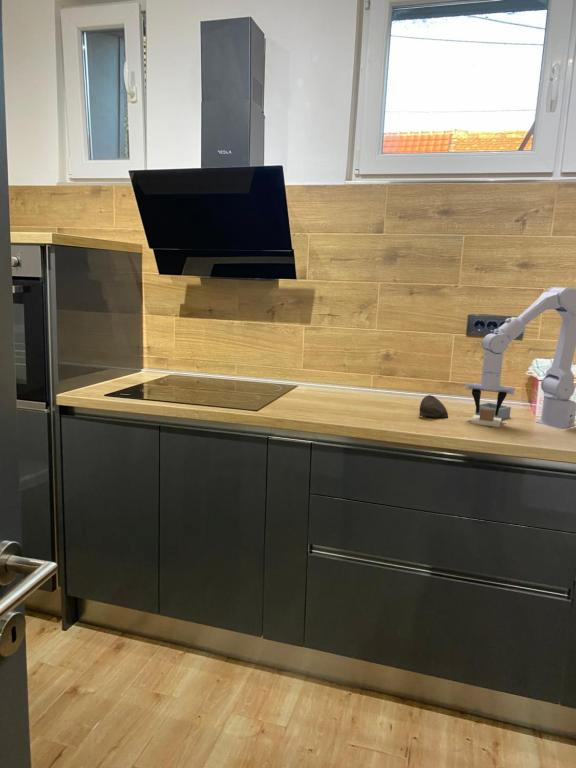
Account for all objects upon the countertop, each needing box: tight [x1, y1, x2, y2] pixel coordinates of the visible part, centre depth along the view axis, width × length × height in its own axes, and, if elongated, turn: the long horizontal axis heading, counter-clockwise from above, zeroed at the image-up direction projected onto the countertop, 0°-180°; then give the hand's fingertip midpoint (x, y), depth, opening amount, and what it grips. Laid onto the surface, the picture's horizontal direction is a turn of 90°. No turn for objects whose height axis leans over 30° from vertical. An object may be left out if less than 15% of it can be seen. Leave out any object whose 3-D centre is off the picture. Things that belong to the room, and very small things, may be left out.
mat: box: [466, 419, 507, 428], centre depth 182 cm, size 9×9×1 cm
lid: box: [470, 408, 503, 428], centre depth 182 cm, size 9×9×4 cm
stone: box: [419, 394, 449, 419], centre depth 188 cm, size 10×8×10 cm
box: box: [474, 402, 512, 420], centre depth 190 cm, size 8×8×4 cm
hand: (487, 413), depth 182 cm, fingers open, 5 cm apart
